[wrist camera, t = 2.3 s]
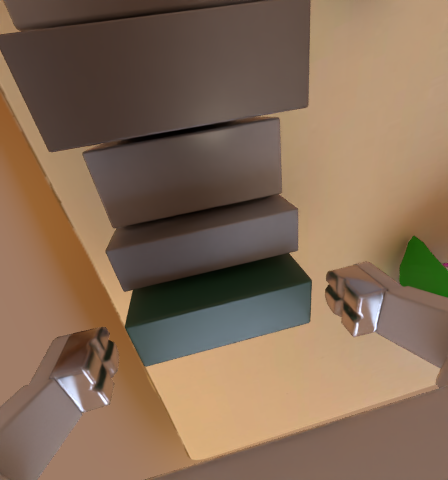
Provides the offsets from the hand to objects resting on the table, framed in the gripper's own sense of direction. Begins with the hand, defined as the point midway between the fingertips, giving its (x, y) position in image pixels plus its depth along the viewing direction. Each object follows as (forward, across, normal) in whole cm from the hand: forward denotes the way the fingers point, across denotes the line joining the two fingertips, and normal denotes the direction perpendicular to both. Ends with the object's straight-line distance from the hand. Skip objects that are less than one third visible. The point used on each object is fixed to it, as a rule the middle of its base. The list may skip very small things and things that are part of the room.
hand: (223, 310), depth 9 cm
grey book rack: (+12, 0, -5) cm, 13 cm away
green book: (+11, 0, 0) cm, 11 cm away
